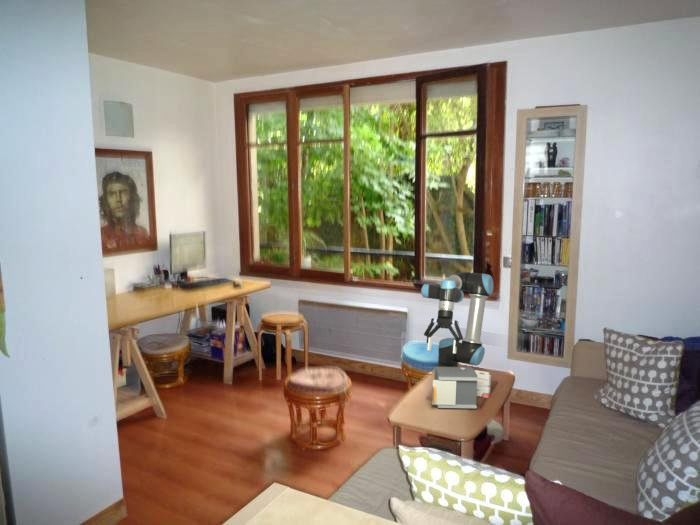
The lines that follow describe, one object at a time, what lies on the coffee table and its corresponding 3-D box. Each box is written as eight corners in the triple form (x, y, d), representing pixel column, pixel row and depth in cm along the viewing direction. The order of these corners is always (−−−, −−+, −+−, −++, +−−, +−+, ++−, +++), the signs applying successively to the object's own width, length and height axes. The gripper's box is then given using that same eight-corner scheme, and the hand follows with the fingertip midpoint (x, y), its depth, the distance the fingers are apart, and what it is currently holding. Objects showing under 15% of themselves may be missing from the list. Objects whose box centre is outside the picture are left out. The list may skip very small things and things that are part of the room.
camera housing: (433, 398, 275) (435, 364, 272) (470, 398, 274) (472, 365, 271) (437, 409, 261) (439, 374, 258) (476, 410, 260) (478, 374, 258)
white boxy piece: (431, 403, 262) (432, 379, 260) (455, 404, 262) (456, 380, 260) (433, 408, 257) (434, 383, 255) (457, 408, 256) (458, 384, 254)
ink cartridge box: (490, 395, 279) (491, 369, 277) (488, 398, 275) (489, 372, 273) (474, 392, 283) (476, 367, 281) (472, 395, 279) (473, 370, 277)
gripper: (420, 307, 262) (415, 348, 259) (466, 311, 249) (462, 354, 245) (426, 309, 268) (421, 349, 265) (471, 313, 255) (467, 355, 251)
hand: (441, 351), depth 255 cm, fingers open, 13 cm apart
